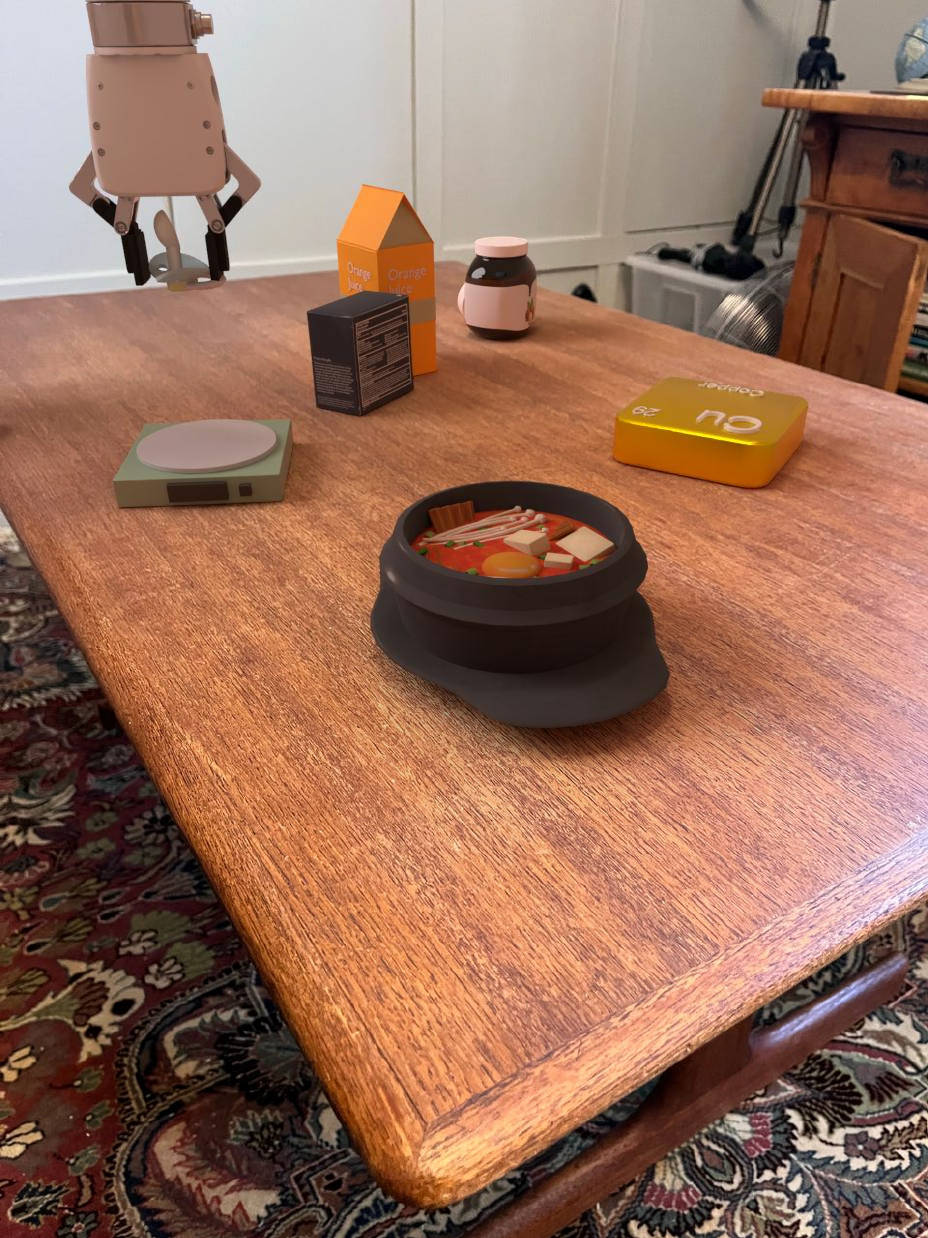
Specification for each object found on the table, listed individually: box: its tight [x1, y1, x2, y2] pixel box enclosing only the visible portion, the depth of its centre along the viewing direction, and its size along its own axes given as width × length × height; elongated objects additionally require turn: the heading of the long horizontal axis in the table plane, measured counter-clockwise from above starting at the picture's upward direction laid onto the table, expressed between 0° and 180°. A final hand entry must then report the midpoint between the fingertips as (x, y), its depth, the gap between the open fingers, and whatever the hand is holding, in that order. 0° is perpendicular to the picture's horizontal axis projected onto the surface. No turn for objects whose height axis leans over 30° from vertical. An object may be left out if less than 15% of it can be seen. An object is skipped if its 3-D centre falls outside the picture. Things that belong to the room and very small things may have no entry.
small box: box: [306, 290, 415, 417], centre depth 106 cm, size 11×6×10 cm, turn 149°
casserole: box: [369, 480, 671, 729], centre depth 63 cm, size 25×19×8 cm
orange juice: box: [335, 183, 438, 377], centre depth 113 cm, size 8×9×20 cm
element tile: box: [612, 376, 809, 489], centre depth 93 cm, size 15×15×5 cm
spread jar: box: [457, 235, 538, 341], centre depth 129 cm, size 12×11×12 cm
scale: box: [112, 418, 294, 508], centre depth 89 cm, size 14×14×3 cm
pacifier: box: [149, 209, 227, 293], centre depth 82 cm, size 7×6×6 cm
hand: (180, 279), depth 83 cm, fingers closed on pacifier, 5 cm apart
